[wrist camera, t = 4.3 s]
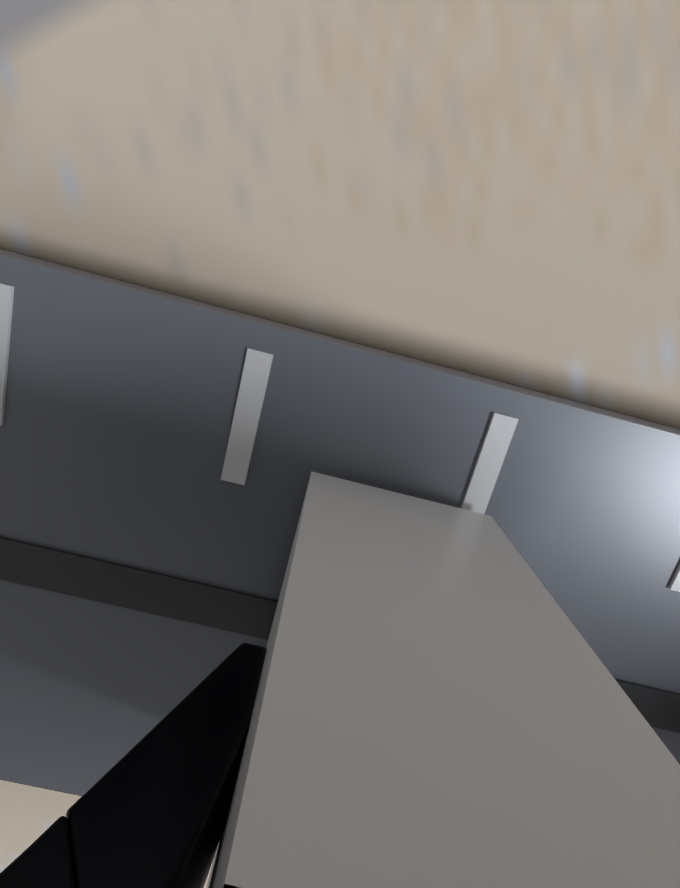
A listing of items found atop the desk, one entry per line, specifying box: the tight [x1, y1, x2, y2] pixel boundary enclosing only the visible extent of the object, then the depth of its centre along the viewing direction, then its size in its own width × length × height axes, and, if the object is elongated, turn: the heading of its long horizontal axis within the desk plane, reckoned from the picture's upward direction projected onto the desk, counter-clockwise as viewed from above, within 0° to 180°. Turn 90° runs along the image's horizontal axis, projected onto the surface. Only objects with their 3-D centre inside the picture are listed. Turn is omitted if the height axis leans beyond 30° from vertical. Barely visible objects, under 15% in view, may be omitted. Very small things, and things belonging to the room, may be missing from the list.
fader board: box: [0, 249, 680, 796], centre depth 10 cm, size 20×10×3 cm, turn 75°
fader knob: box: [207, 471, 680, 888], centre depth 5 cm, size 3×6×6 cm, turn 165°
